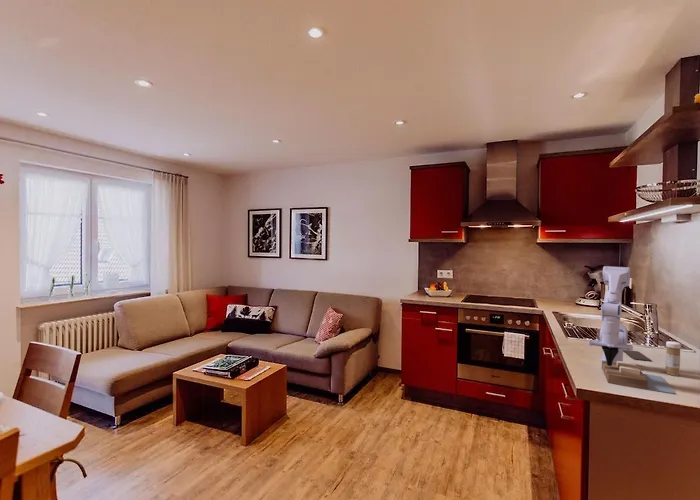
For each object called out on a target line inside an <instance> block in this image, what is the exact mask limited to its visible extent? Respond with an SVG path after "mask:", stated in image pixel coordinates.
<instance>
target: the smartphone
mask: <svg viewBox="0 0 700 500" xmlns="http://www.w3.org/2000/svg"><path fill="white" fill-rule="evenodd" d="M625 353H626V356H628V357H629V358H631V359H632V360H634V361H641V362H651V363H652V362H653V360H652V359H651V358H649V357H648V356H646V355H645V354H644V353H642V352H641V351H637V350H633V351H629V350H624V349H623V354H625Z"/></svg>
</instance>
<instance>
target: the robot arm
mask: <svg viewBox="0 0 700 500" xmlns="http://www.w3.org/2000/svg"><path fill="white" fill-rule="evenodd" d="M602 281H603V283H604V285H605V286H608V290H606V291H605V292H604V297H603V298H604V299H603V303H601V306H600V314H601V321H602V322H601V325H600V330H599V340H597V339H595V340H594V339H588V343H587V344H588V346H594V347H601V349H602V357H600V361H601V362H602V360H604V361H607V365H608V366H612V362H617V361H622V362H624V352H623V350H629V351H634V349H633V347H634V346H633V345H632V344H628V337H629V336H628V333H629V332H628V328H627V327H626V325H624V324H622V323H621V317H622V309H623V308H622V295H623V291H624V288H626V287H629V286H630V281H631V268H630V266H627V267H625V266H609V265H607V266H606V265H604V266H603V267H602Z"/></svg>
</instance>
